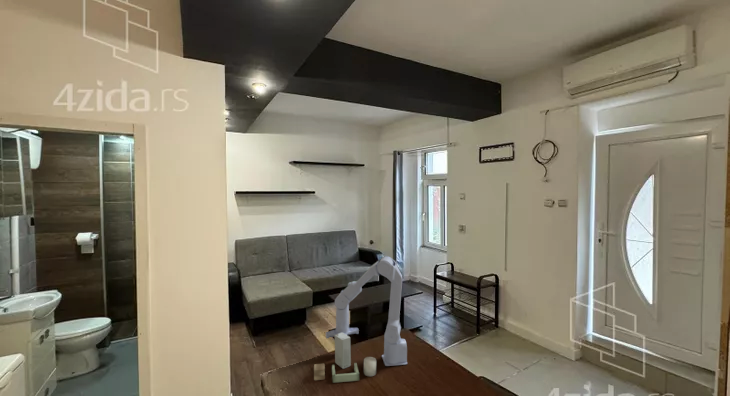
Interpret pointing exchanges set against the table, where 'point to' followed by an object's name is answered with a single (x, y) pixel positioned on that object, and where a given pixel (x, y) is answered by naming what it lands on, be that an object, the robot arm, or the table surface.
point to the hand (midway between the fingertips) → (342, 351)
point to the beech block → (319, 371)
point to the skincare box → (342, 350)
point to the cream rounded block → (369, 366)
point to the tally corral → (345, 375)
